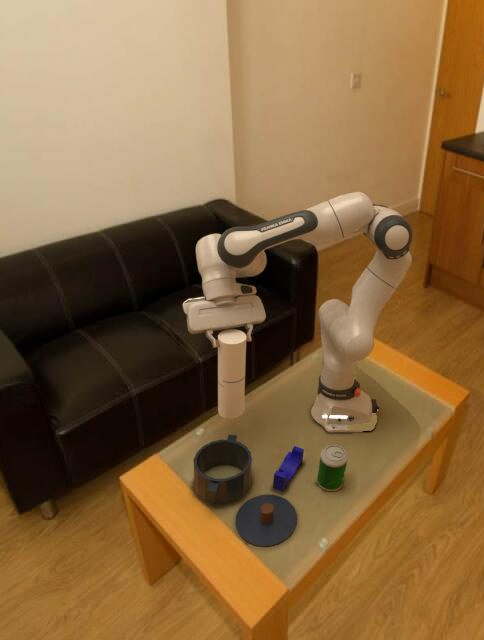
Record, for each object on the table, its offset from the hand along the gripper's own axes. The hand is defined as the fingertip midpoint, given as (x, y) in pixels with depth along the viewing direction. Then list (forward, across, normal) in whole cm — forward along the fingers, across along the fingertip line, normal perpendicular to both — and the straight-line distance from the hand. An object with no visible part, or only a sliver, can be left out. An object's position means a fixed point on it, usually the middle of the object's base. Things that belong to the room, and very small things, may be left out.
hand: (232, 344), depth 129 cm
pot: (+35, -6, +17) cm, 39 cm away
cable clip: (+38, +10, +14) cm, 41 cm away
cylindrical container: (+16, 0, +17) cm, 23 cm away
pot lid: (+46, 0, +5) cm, 46 cm away
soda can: (+43, +20, +9) cm, 48 cm away
